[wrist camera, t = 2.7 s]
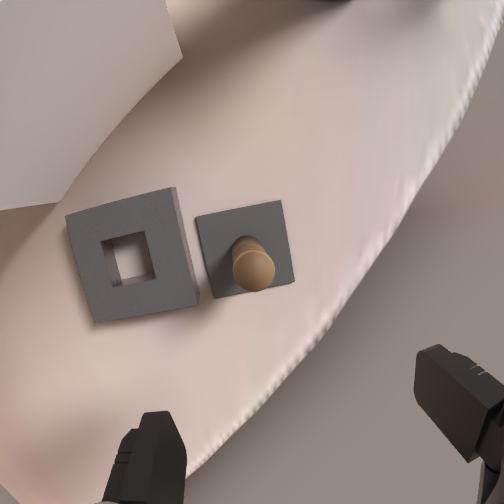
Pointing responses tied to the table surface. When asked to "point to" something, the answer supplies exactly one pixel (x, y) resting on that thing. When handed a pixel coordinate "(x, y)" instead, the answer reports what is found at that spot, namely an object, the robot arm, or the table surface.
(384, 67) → the table surface
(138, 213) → the gray square frame
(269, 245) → the mat
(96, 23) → the cube
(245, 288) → the wooden peg
